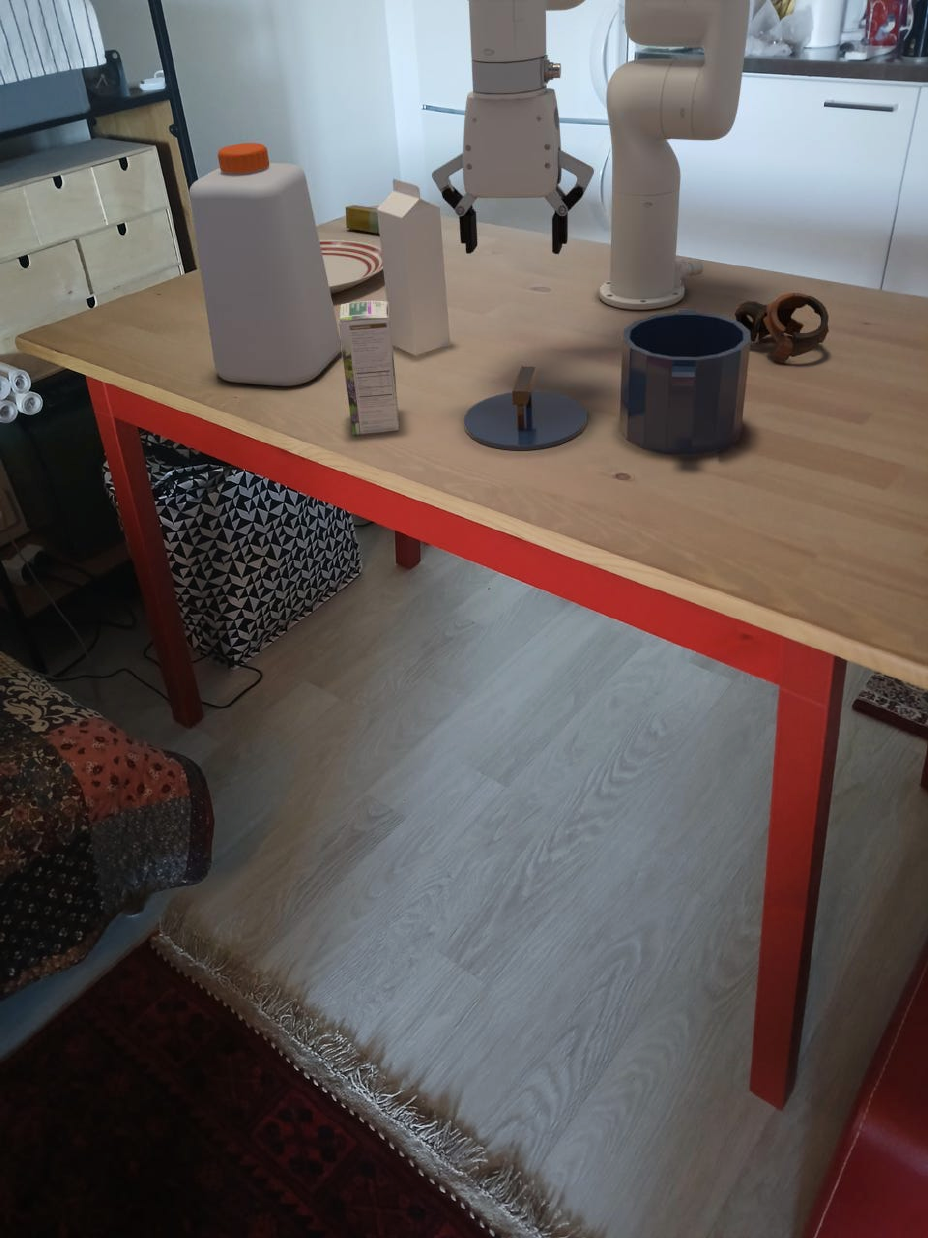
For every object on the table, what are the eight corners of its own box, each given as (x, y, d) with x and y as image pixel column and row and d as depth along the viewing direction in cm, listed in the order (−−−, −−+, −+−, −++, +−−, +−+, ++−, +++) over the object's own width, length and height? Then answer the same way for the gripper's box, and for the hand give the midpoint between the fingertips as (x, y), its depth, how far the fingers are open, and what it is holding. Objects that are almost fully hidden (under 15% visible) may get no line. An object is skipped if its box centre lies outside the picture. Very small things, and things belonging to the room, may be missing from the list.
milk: (415, 359, 140) (398, 191, 127) (391, 347, 144) (372, 183, 131) (451, 347, 143) (438, 180, 129) (426, 335, 147) (411, 173, 133)
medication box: (405, 234, 187) (405, 211, 185) (396, 237, 185) (396, 213, 183) (354, 226, 193) (353, 203, 191) (345, 228, 191) (344, 205, 189)
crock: (739, 396, 124) (748, 303, 117) (741, 472, 110) (752, 371, 103) (626, 394, 127) (628, 303, 120) (613, 468, 112) (616, 369, 105)
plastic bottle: (308, 391, 134) (270, 163, 117) (206, 384, 138) (155, 162, 121) (351, 346, 145) (322, 133, 128) (255, 341, 149) (215, 133, 133)
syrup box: (352, 418, 127) (336, 302, 118) (400, 413, 127) (387, 298, 118) (352, 439, 122) (335, 320, 113) (402, 434, 122) (389, 315, 113)
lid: (592, 401, 126) (593, 354, 122) (580, 457, 115) (580, 407, 111) (476, 398, 129) (473, 352, 125) (453, 452, 117) (449, 404, 114)
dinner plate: (304, 246, 185) (301, 227, 183) (424, 267, 171) (422, 247, 169) (190, 295, 168) (186, 274, 166) (313, 322, 154) (310, 300, 152)
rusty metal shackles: (819, 337, 138) (842, 296, 130) (804, 392, 135) (826, 352, 127) (733, 311, 139) (750, 269, 132) (716, 364, 136) (732, 324, 128)
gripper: (599, 68, 105) (596, 240, 115) (435, 73, 108) (446, 239, 118) (590, 81, 99) (588, 261, 109) (417, 86, 102) (430, 260, 112)
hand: (514, 250), depth 113 cm, fingers open, 9 cm apart
